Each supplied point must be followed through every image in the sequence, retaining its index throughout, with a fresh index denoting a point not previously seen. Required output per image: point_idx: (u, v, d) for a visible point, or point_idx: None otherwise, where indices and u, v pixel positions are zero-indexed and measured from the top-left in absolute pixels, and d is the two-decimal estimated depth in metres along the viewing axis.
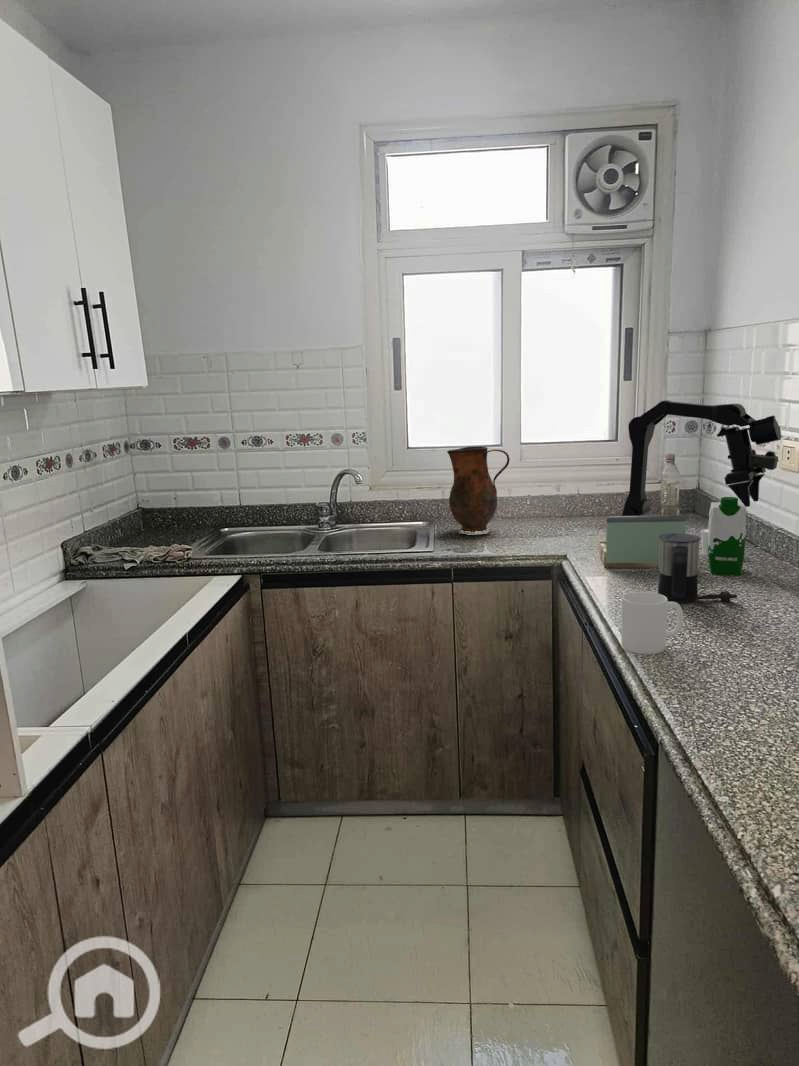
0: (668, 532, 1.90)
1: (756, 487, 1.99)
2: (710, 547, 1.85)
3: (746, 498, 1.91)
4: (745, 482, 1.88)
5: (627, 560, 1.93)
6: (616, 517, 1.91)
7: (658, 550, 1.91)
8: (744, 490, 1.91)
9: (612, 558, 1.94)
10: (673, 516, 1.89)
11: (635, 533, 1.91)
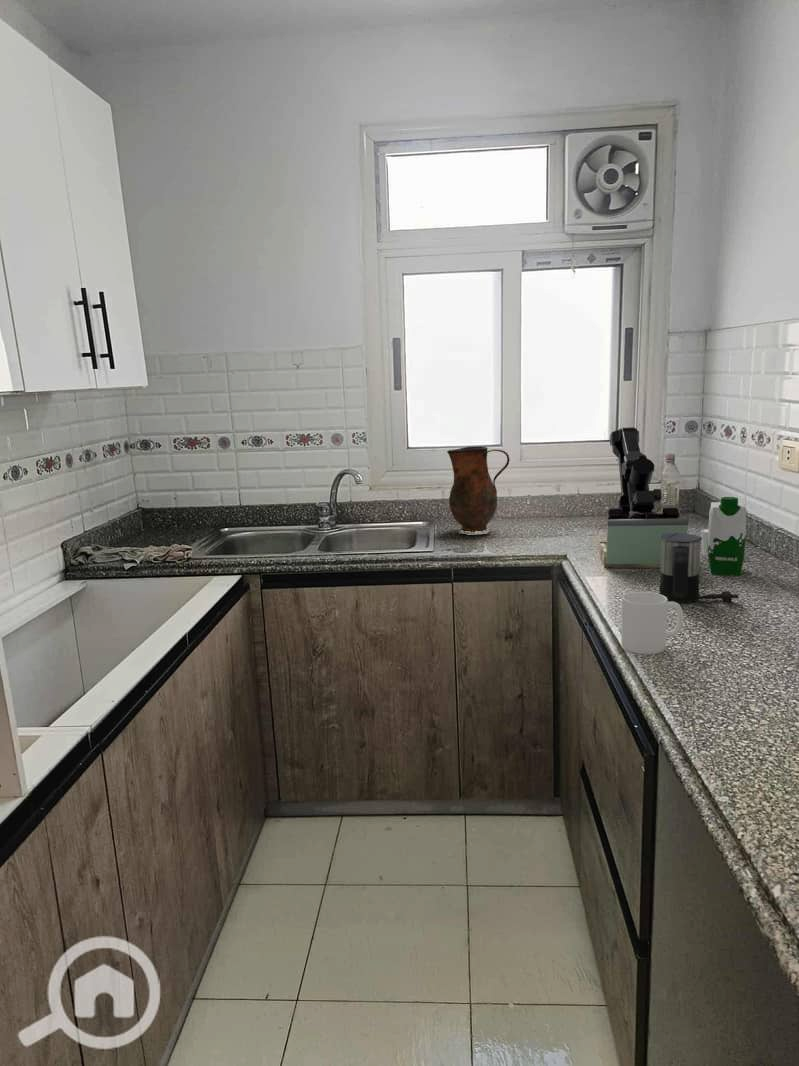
0: None
1: None
2: (710, 547, 1.85)
3: None
4: (629, 518, 1.95)
5: (627, 561, 1.93)
6: (618, 521, 1.89)
7: (659, 551, 1.91)
8: None
9: (612, 559, 1.94)
10: (675, 520, 1.87)
11: (636, 536, 1.90)
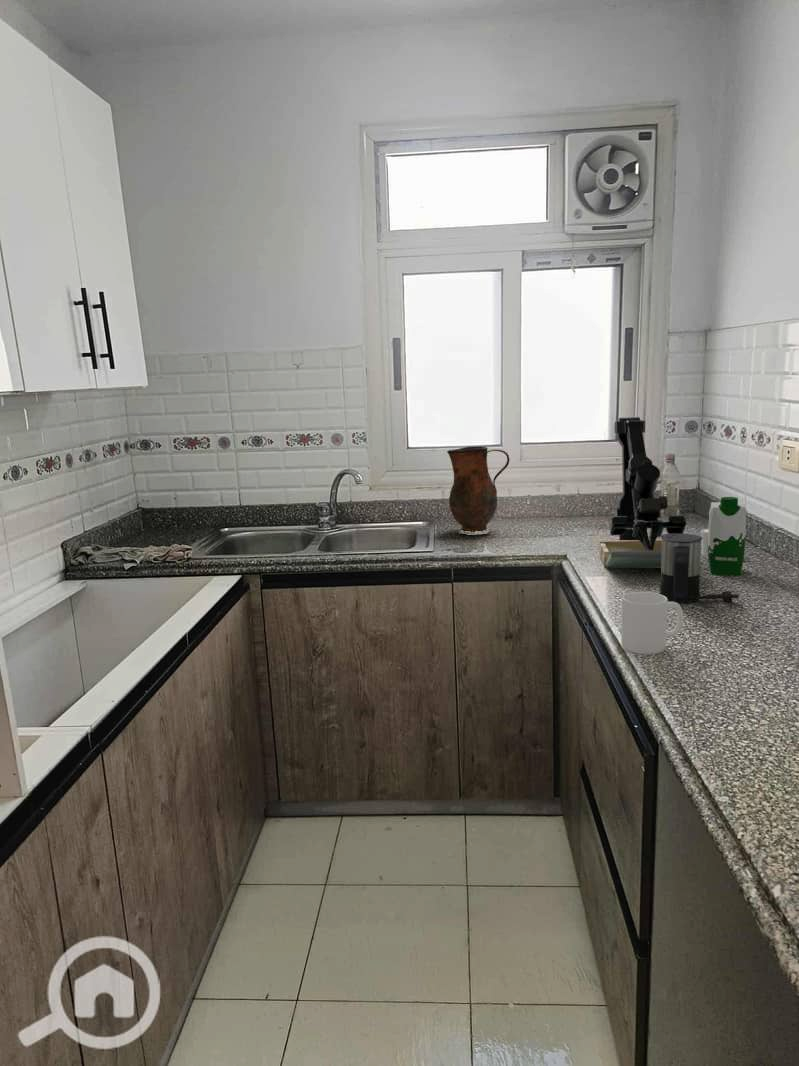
0: None
1: (650, 538, 1.85)
2: (710, 547, 1.85)
3: (646, 544, 1.85)
4: (634, 527, 1.87)
5: (627, 566, 1.94)
6: (621, 555, 1.83)
7: (659, 563, 1.90)
8: None
9: (612, 565, 1.94)
10: None
11: (639, 559, 1.86)
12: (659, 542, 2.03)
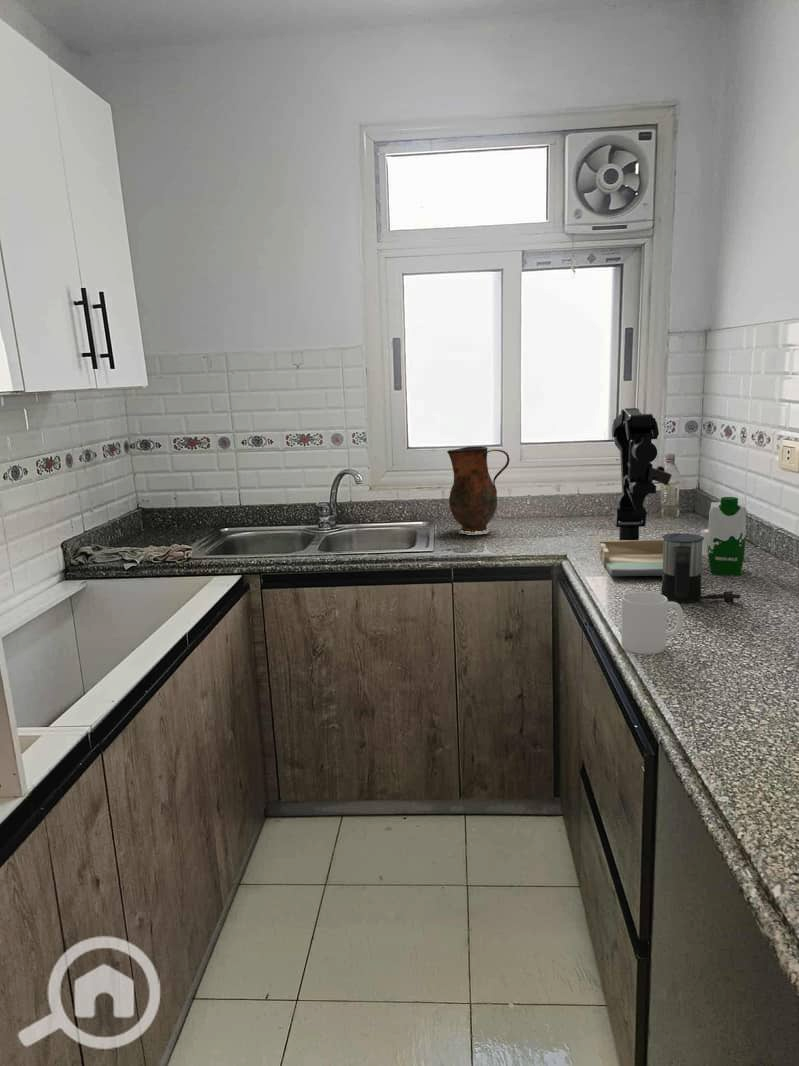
0: None
1: None
2: (710, 547, 1.85)
3: (640, 506, 2.01)
4: None
5: None
6: (622, 575, 1.83)
7: None
8: (640, 498, 2.00)
9: None
10: None
11: None
12: (659, 542, 2.03)
